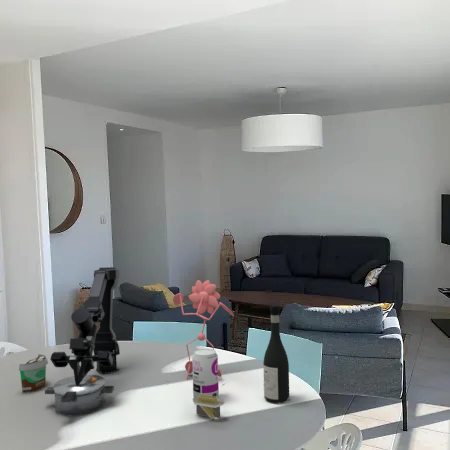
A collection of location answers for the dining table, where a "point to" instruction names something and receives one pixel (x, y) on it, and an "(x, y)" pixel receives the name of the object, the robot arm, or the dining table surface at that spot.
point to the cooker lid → (78, 386)
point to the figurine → (201, 309)
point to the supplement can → (205, 373)
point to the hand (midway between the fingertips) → (76, 384)
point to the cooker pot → (81, 402)
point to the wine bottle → (276, 364)
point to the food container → (33, 374)
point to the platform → (208, 406)
